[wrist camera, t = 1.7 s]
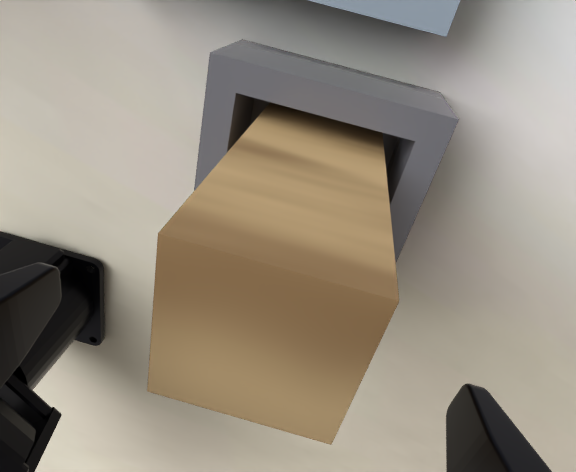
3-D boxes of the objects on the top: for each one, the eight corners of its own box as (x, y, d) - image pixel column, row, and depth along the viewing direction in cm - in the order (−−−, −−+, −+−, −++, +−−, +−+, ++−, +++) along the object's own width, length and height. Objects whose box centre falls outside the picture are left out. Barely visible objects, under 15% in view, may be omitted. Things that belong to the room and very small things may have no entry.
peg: (349, 222, 19) (331, 444, 10) (253, 196, 19) (147, 391, 10) (382, 127, 17) (399, 301, 8) (273, 98, 17) (158, 233, 8)
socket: (373, 257, 21) (374, 310, 17) (216, 213, 21) (186, 257, 17) (440, 91, 17) (458, 119, 13) (242, 39, 17) (209, 52, 13)
